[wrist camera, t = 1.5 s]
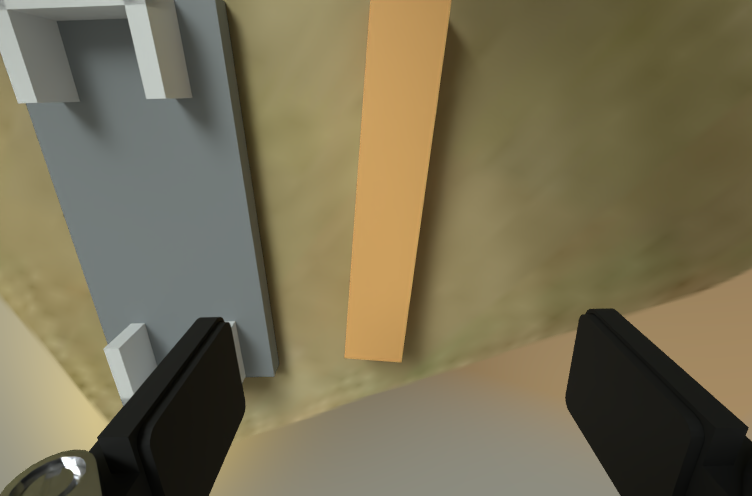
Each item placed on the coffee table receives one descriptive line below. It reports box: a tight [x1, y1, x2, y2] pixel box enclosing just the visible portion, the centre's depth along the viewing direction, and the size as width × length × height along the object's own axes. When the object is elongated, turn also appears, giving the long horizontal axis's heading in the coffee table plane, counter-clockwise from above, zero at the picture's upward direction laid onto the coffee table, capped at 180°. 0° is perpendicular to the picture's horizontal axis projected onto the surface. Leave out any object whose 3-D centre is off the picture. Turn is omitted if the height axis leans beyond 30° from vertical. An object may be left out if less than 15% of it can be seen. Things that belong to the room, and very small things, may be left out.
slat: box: [345, 0, 452, 362], centre depth 25 cm, size 22×4×4 cm, turn 175°
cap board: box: [0, 0, 279, 406], centre depth 24 cm, size 25×12×4 cm, turn 2°
